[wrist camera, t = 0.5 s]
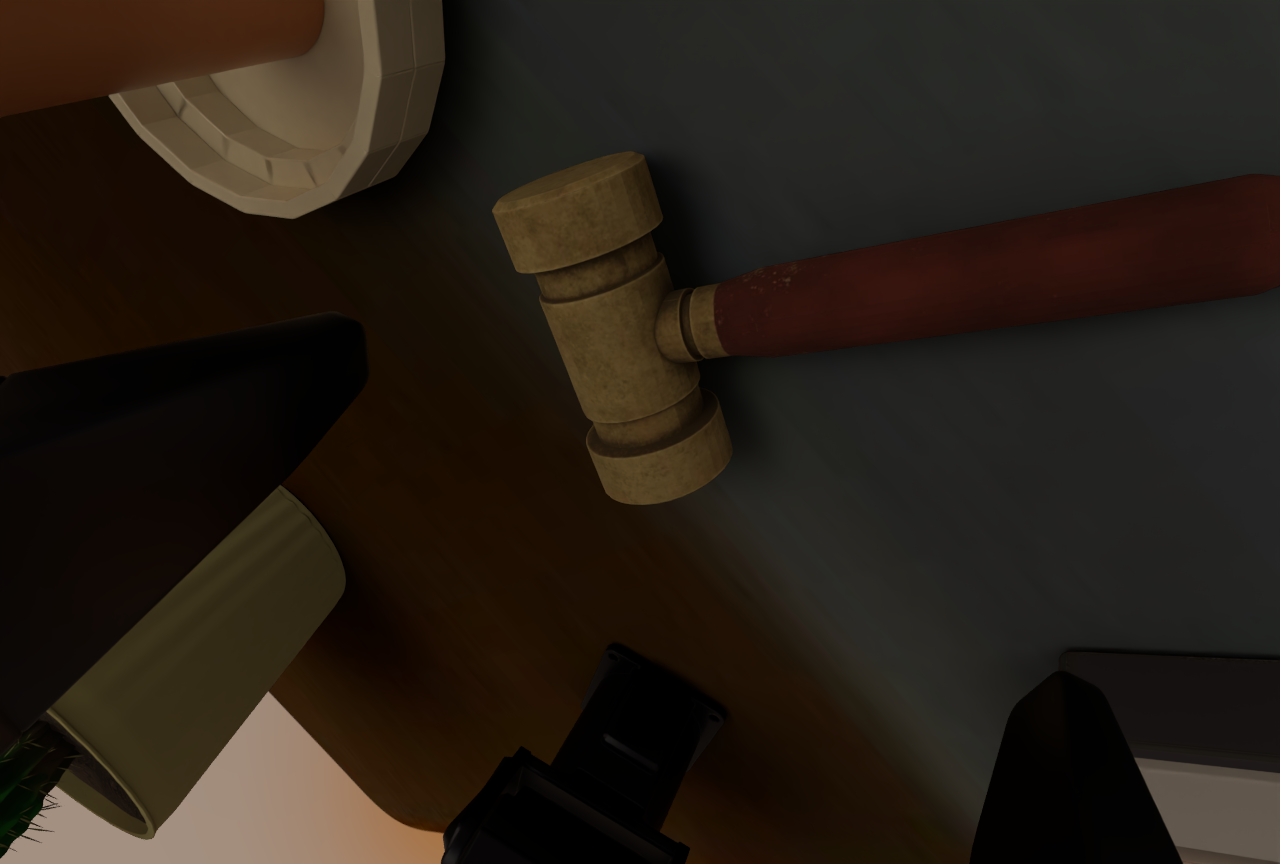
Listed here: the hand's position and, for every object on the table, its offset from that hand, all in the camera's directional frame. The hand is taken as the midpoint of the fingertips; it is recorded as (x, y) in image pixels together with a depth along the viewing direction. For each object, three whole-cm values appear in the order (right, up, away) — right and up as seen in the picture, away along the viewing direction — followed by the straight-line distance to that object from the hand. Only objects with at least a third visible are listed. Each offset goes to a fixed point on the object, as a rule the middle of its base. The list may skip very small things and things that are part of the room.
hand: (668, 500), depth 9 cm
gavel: (+7, +5, +12) cm, 15 cm away
